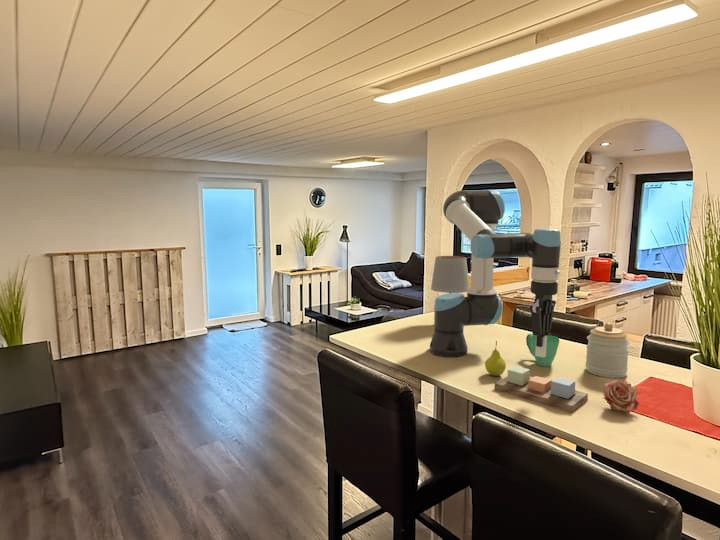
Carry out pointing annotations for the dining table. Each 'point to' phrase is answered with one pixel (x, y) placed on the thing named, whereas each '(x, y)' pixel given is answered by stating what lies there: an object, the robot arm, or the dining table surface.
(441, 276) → the lamp
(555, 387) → the button slate
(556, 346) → the mug
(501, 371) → the fruit
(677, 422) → the dining table surface
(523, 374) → the button sage
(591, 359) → the jar
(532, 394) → the button board
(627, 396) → the flower
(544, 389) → the button terracotta
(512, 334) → the dining table surface
